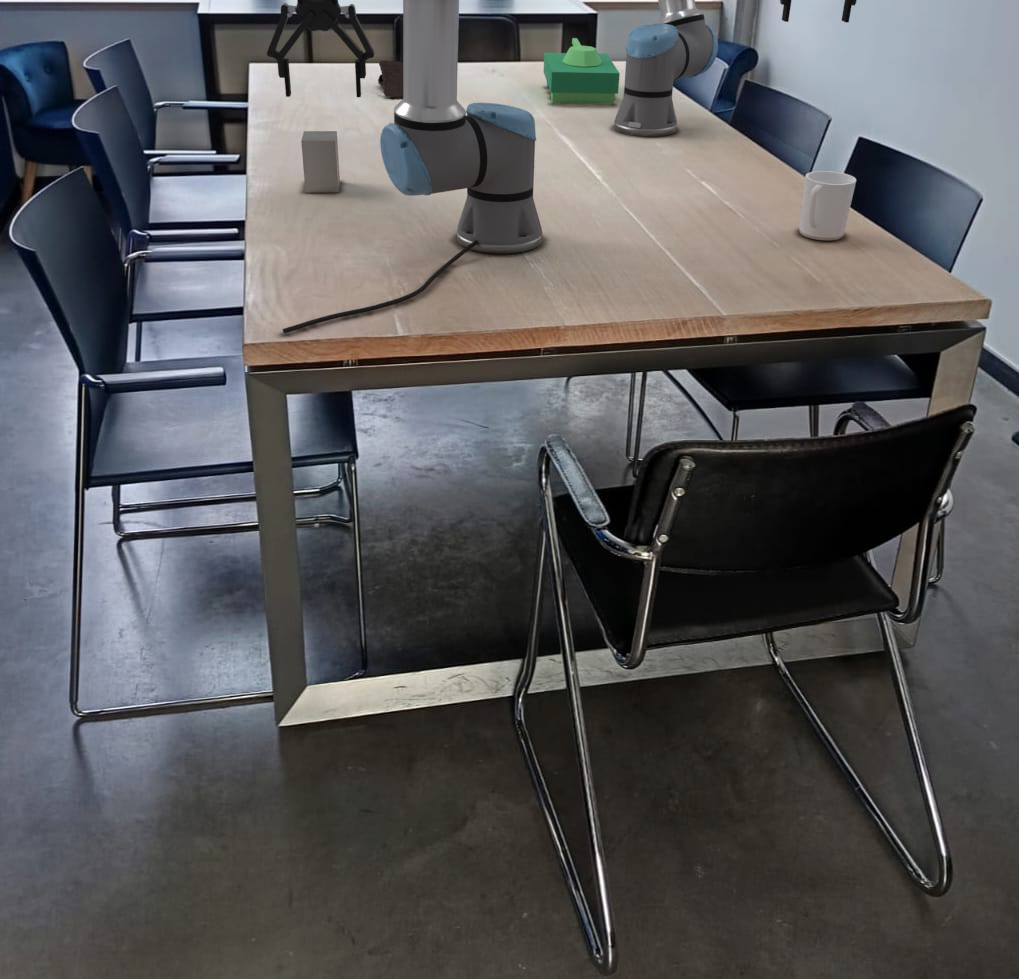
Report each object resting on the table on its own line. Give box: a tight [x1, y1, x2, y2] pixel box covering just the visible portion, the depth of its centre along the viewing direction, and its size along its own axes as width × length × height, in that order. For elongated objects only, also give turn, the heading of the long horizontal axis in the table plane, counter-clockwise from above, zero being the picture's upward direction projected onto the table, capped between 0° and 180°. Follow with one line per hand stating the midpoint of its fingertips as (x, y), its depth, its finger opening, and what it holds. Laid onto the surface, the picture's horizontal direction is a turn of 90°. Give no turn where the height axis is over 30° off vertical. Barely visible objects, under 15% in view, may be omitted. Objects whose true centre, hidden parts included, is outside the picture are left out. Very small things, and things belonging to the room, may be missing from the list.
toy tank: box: [543, 37, 620, 105], centre depth 300 cm, size 18×12×35 cm
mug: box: [798, 170, 857, 241], centre depth 199 cm, size 11×9×10 cm
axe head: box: [377, 59, 403, 99], centre depth 299 cm, size 18×8×15 cm
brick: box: [300, 130, 341, 194], centre depth 219 cm, size 8×7×10 cm
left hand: (323, 95), depth 213 cm, fingers open, 13 cm apart
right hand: (815, 21), depth 242 cm, fingers open, 13 cm apart
